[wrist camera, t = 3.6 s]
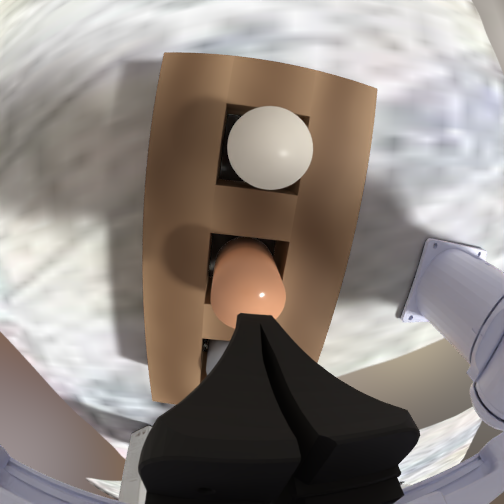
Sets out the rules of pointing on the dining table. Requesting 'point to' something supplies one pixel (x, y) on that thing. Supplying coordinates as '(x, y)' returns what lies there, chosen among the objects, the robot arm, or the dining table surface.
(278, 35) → the dining table surface
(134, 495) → the skincare box
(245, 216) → the walnut button box
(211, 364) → the slate plunger
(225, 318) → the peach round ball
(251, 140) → the cream plunger
